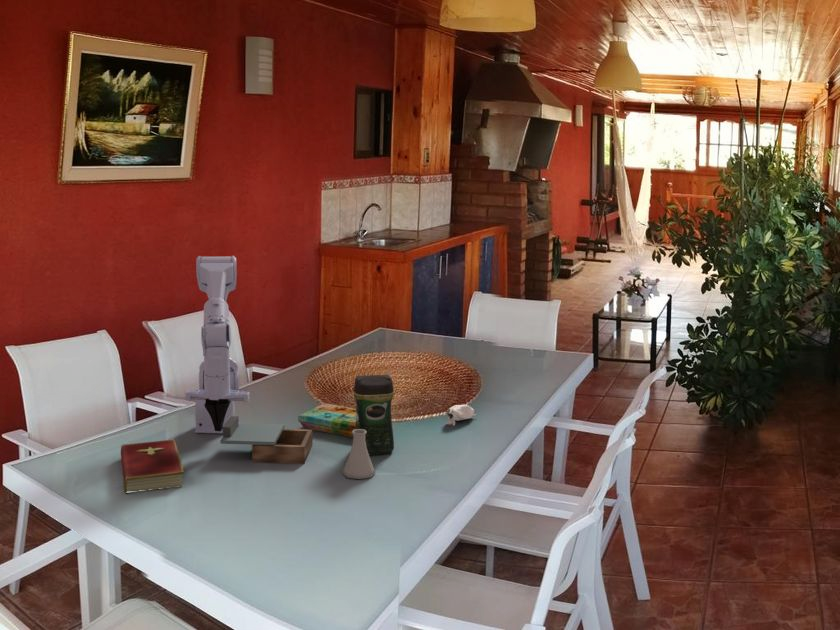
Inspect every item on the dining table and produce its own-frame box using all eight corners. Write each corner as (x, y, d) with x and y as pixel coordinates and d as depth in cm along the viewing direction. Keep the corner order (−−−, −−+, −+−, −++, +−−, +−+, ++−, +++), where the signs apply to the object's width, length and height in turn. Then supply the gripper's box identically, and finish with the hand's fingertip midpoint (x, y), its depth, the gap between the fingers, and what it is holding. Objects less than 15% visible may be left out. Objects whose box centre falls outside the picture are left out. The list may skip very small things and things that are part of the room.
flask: (342, 467, 195) (343, 425, 192) (374, 467, 195) (375, 425, 193) (342, 480, 187) (342, 436, 185) (375, 480, 188) (376, 436, 186)
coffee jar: (390, 443, 211) (391, 370, 207) (396, 455, 203) (397, 379, 199) (351, 445, 209) (351, 371, 205) (355, 457, 201) (355, 380, 197)
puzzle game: (322, 400, 229) (388, 412, 221) (322, 417, 230) (388, 429, 222) (298, 412, 219) (366, 424, 211) (298, 429, 220) (366, 443, 211)
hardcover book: (124, 496, 178) (123, 477, 177) (121, 461, 197) (120, 443, 196) (184, 489, 182) (183, 470, 181) (175, 455, 201) (174, 438, 200)
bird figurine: (463, 433, 224) (479, 414, 232) (456, 410, 222) (473, 391, 229) (447, 432, 226) (463, 414, 234) (440, 410, 224) (456, 392, 232)
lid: (220, 443, 196) (220, 430, 195) (233, 425, 208) (233, 413, 207) (274, 445, 196) (274, 431, 195) (284, 427, 208) (284, 414, 207)
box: (252, 462, 197) (252, 445, 196) (263, 443, 208) (262, 428, 208) (304, 463, 196) (304, 447, 196) (312, 445, 208) (312, 429, 207)
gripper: (180, 377, 195) (183, 434, 198) (244, 379, 195) (245, 436, 198) (190, 369, 202) (191, 424, 205) (251, 371, 202) (252, 426, 205)
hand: (218, 429), depth 202 cm, fingers closed
